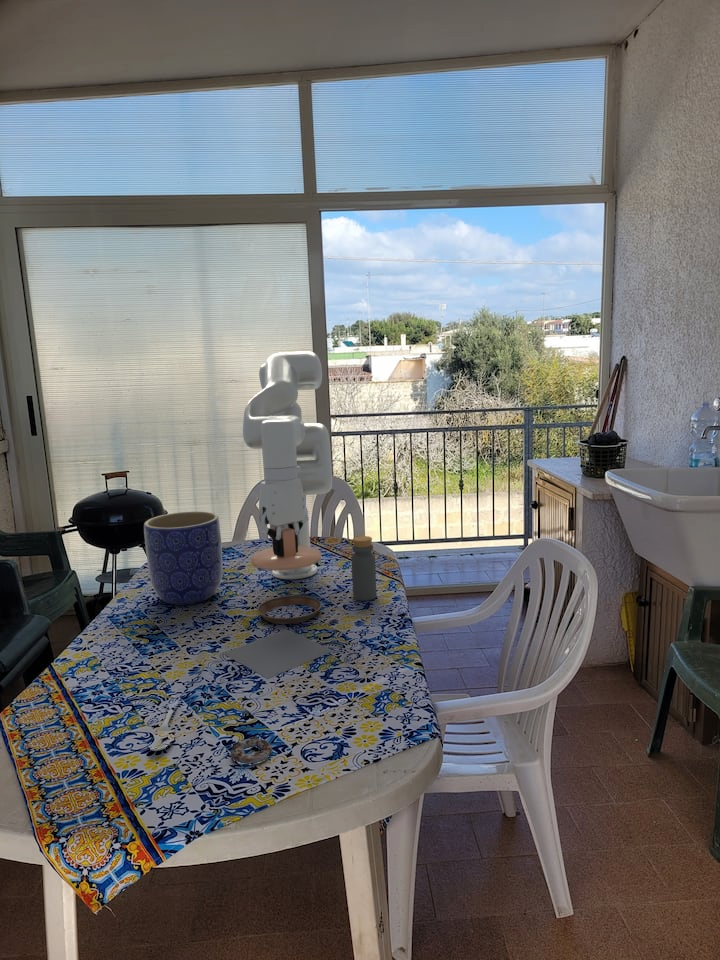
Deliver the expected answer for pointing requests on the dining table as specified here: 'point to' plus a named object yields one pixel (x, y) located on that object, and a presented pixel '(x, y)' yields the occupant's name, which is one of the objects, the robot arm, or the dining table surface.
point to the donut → (239, 748)
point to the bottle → (363, 569)
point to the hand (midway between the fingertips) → (286, 552)
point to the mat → (277, 653)
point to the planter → (184, 556)
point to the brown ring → (289, 600)
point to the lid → (286, 555)
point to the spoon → (164, 728)
